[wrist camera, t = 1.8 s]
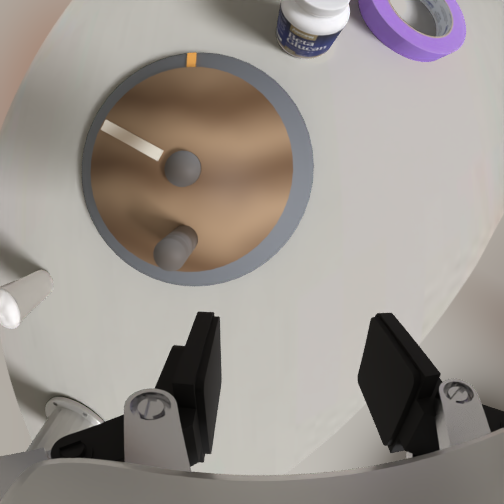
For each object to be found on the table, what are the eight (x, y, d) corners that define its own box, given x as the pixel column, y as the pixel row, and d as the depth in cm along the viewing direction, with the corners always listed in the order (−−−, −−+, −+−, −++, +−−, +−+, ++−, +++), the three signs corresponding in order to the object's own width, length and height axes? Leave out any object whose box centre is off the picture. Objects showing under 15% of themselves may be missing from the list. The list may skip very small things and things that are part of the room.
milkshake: (23, 270, 31) (-29, 301, 21) (49, 259, 30) (-6, 290, 21) (37, 303, 32) (-10, 339, 22) (63, 294, 31) (15, 334, 22)
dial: (101, 82, 24) (66, 67, 17) (293, 72, 24) (303, 46, 17) (103, 263, 29) (71, 286, 22) (286, 269, 28) (294, 298, 22)
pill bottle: (277, 60, 25) (287, 15, 15) (273, 15, 23) (280, -39, 14) (333, 61, 25) (366, 21, 15) (327, 16, 23) (353, -33, 14)
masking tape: (450, 77, 24) (469, 70, 21) (356, 43, 24) (368, 29, 20) (445, 0, 21) (460, -11, 17) (357, -34, 21) (367, -51, 17)
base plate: (344, 228, 29) (349, 232, 27) (146, 309, 32) (141, 317, 30) (252, 25, 24) (252, 17, 22) (62, 127, 26) (53, 126, 24)
